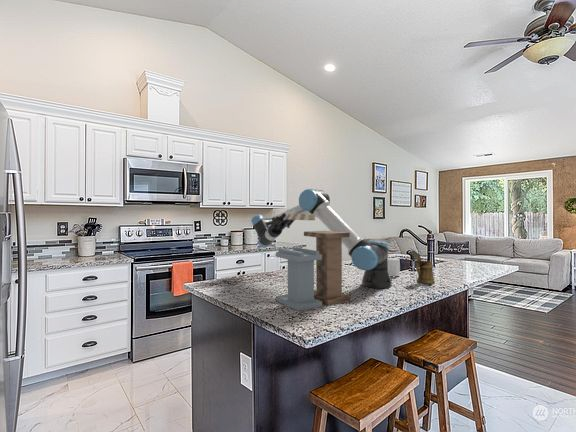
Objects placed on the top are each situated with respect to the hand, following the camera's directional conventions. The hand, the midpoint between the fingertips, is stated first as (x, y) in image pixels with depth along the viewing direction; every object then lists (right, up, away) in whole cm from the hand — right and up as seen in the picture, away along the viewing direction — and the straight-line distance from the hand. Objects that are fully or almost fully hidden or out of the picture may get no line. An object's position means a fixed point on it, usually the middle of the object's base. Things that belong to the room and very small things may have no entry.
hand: (292, 211), depth 175 cm
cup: (+59, -39, +27) cm, 76 cm away
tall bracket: (+15, -40, -24) cm, 49 cm away
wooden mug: (+72, -39, +9) cm, 82 cm away
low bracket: (+2, -40, -32) cm, 51 cm away
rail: (+3, -4, -4) cm, 7 cm away
